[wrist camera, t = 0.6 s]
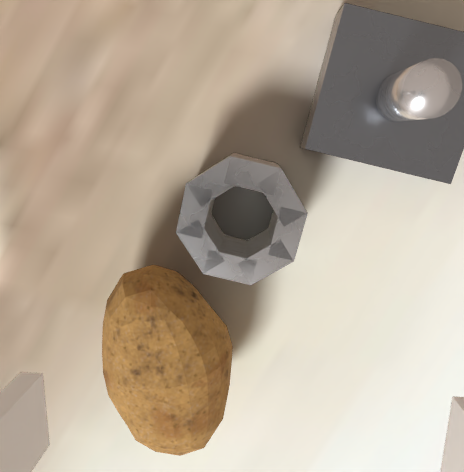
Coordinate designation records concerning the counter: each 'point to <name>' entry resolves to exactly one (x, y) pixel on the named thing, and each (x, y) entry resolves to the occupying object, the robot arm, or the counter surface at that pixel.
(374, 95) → the pillow block
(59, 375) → the counter surface
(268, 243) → the hub
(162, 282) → the potato
